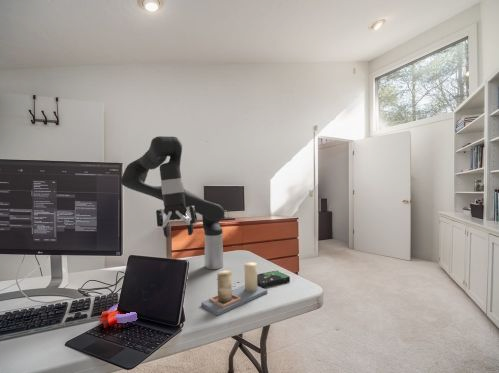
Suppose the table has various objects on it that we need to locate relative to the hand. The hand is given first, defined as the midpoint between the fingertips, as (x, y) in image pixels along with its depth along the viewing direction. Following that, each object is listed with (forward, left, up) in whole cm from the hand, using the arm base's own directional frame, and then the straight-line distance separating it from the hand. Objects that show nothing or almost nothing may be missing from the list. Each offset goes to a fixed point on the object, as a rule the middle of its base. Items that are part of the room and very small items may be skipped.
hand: (179, 235), depth 93 cm
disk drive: (+9, +38, -26) cm, 47 cm away
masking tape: (-4, -17, -26) cm, 31 cm away
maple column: (+11, +11, -24) cm, 29 cm away
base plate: (+11, +17, -25) cm, 32 cm away
